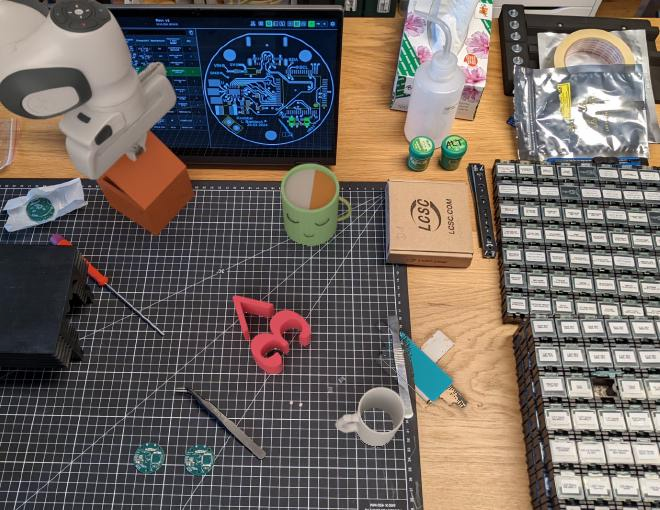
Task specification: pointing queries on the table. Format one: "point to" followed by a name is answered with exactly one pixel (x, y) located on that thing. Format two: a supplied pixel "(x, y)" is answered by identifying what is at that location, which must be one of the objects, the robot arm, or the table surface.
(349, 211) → the mug
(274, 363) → the red number figure
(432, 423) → the table surface
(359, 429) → the mug
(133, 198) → the case lid
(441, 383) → the phone stand
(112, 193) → the parts case
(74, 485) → the table surface
